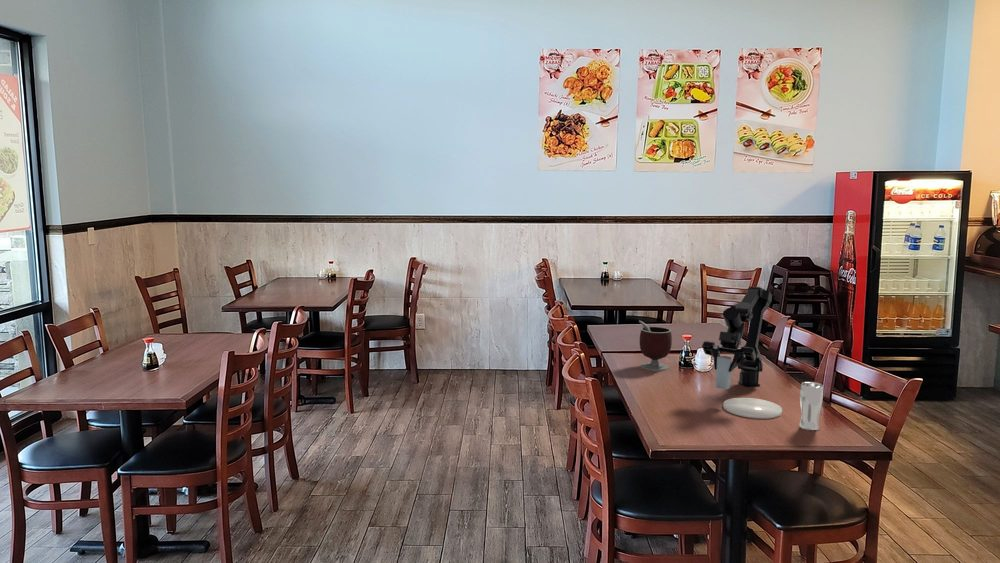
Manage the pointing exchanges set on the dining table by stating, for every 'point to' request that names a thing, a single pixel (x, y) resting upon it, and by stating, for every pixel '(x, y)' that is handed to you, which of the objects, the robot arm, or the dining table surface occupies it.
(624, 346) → the dining table surface
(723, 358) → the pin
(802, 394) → the beer glass
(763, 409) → the plate
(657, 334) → the mate gourd
